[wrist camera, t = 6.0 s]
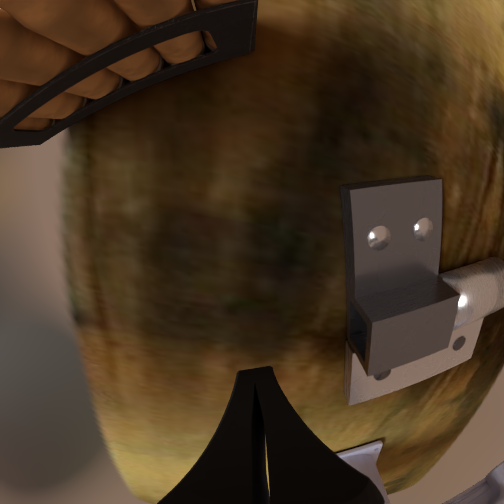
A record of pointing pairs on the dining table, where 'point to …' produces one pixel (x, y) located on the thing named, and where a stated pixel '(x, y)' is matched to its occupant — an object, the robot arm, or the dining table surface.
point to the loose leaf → (395, 272)
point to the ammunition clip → (104, 54)
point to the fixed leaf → (461, 343)
